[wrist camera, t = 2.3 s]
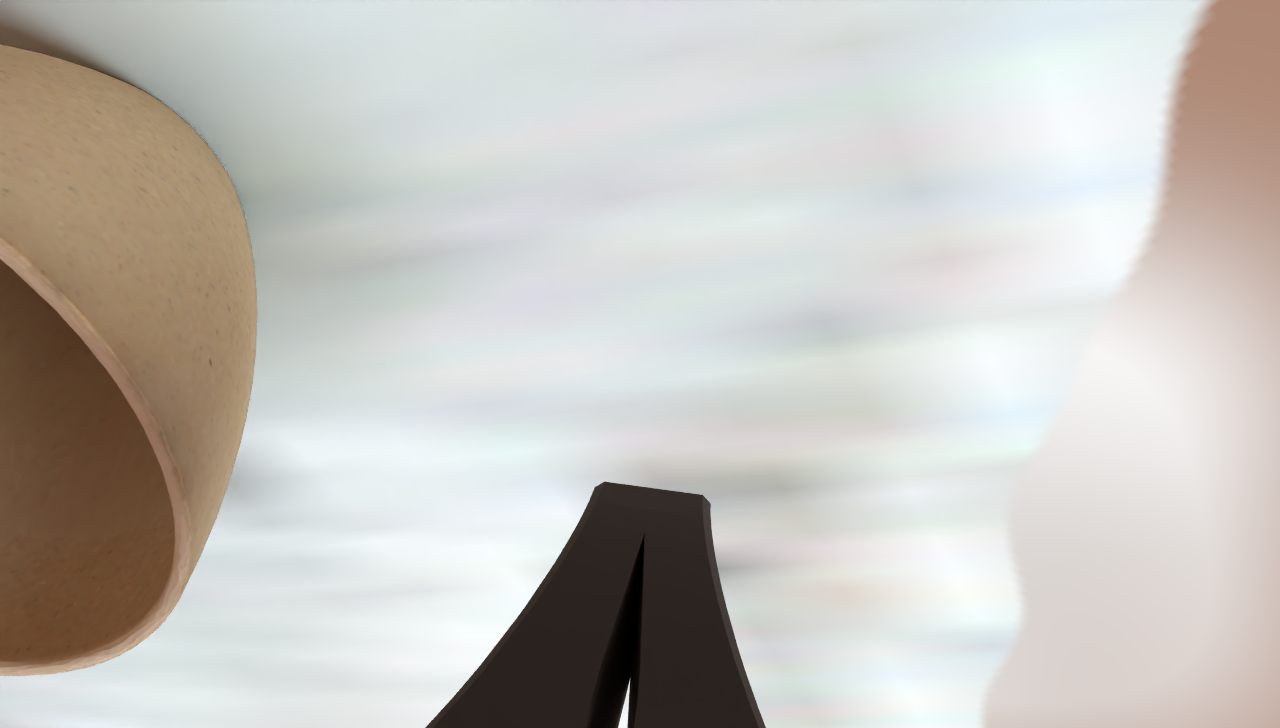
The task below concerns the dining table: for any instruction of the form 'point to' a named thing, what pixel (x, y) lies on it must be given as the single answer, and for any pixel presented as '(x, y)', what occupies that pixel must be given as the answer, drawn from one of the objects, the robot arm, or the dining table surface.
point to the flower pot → (110, 359)
